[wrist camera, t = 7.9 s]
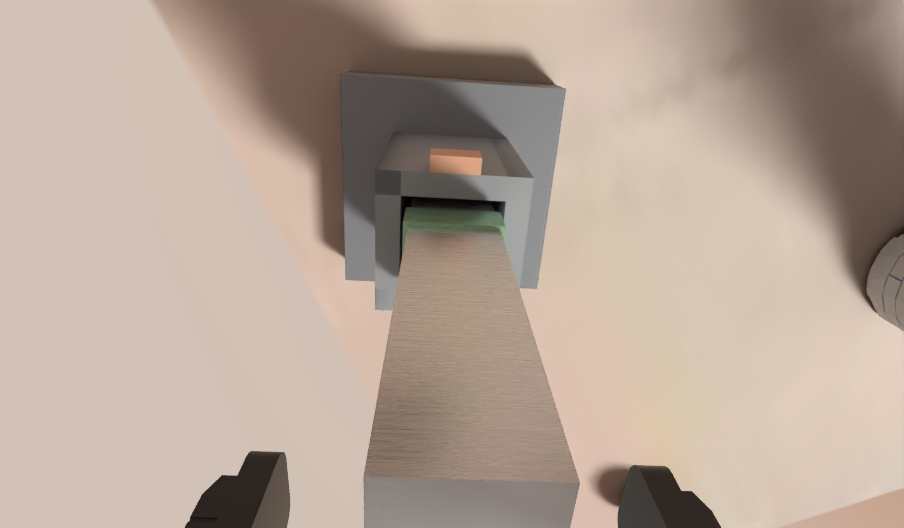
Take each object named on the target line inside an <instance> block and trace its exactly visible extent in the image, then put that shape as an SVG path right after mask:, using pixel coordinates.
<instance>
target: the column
mask: <svg viewBox="0 0 904 528" xmlns="http://www.w3.org/2000/svg"><path fill="white" fill-rule="evenodd" d="M505 229H506V226H505V223H504V220H503V217H502V214H501V212H495V211H494V208H493V205H492V202H491V201H488V200H469V199H451V198H432V197H414V196H413V198H412V204H411V207H406V209H405V214H404V219H403V241H402V261H401V266H400V272H399V278H398V283H397V289H396V295H395V301H394V306H393V312H392V318H391V323H390V329H389V335H388V341H387V346H386V352H385V358H384V363H383V369H382V375H381V380H380V386H379V392H378V398H377V403H376V409H375V415H374V421H373V426H372V432H371V438H370V443H369V449H368V455H367V460H366V466H365V472H364V528H570V525H571V520H572V516H573V512H574V507H575V503H576V498H577V494H578V489H579V485H580V481H579V478H578V475H577V472H576V469H575V466H574V462H573V459H572V456H571V453H570V450H569V446H568V443H567V440H566V437H565V434H564V431H563V427H562V424H561V421H560V418H559V415H558V412H557V408H556V405H555V402H554V399H553V396H552V392H551V389H550V386H549V383H548V380H547V377H546V373H545V370H544V367H543V364H542V361H541V357H540V354H539V351H538V348H537V345H536V342H535V338H534V335H533V332H532V329H531V326H530V322H529V319H528V316H527V313H526V310H525V307H524V303H523V300H522V297H521V294H520V291H519V287H518V284H517V281H516V278H515V275H514V272H513V268H512V265H511V262H510V259H509V256H508V252H507V249H506V246H505V243H504V238H505Z"/></svg>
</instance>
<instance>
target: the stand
mask: <svg viewBox="0 0 904 528" xmlns="http://www.w3.org/2000/svg"><path fill="white" fill-rule="evenodd" d="M340 80H341V119H342V158H343V197H344V235H345V274H346V280H359V281H375V310H393V306H394V301H395V295H396V289H397V283H398V278H399V272H400V266H401V261H402V241H403V219H404V214H405V209H406V207H411V204H412V198H413V196H414V197H432V198H451V199H469V200H488V201H491V202H492V205H493V208H494V211H495V212H501V214H502V217H503V220H504V223H505V226H506V229H505V238H504V243H505V246H506V249H507V252H508V256H509V259H510V262H511V265H512V268H513V272H514V275H515V278H516V281H517V284H518V287H519V290H520V288H530V289H537V284H538V277H539V270H540V263H541V257H542V250H543V243H544V236H545V229H546V222H547V215H548V209H549V202H550V195H551V188H552V181H553V174H554V168H555V161H556V154H557V147H558V140H559V133H560V127H561V120H562V113H563V106H564V99H565V92H566V89H565V88H562V87H560V86H557V85H548V84H532V83H517V82H501V81H486V80H470V79H455V78H440V77H424V76H409V75H393V74H378V73H362V72H346V73H343V74H340Z"/></svg>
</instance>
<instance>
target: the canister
mask: <svg viewBox="0 0 904 528" xmlns="http://www.w3.org/2000/svg"><path fill="white" fill-rule="evenodd" d="M866 290H867V295H868V296H869V297H870V299H871V301H872V304H873V306H874V308H875V309H876V311H877V312H878V313H879V316H881V317H882V318H883V319H885V320H886V321H888V322H890V323H891V324H893V325H895V326H896V327H898V328H899V329H901V330H902V331H904V234H902V235H901V236H899V237H897V238H896V237H893V238H892V239H891V240H890V241H889V242H888V243H887V244H886V245H885V246H884V247H883V248H882V250H881V251H880V253H879V254H878V256H877V258H876V259H875V261H874V263H873V265H872V267H871V269H870V272H869V275H868V279H867V287H866Z"/></svg>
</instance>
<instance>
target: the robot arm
mask: <svg viewBox="0 0 904 528" xmlns="http://www.w3.org/2000/svg"><path fill="white" fill-rule="evenodd" d="M289 512H290V493H289V482H288V472H287V462H286V455H285V453H284V452H259V451H251V452H249V453H248V455H247V456H246V458H245V461H244V463H243V465H242V467H241V469H240V471H239V474H238V476H225V475H222V476H221V477H220V478H219V479H218V480H217V481H216V482H215V483H214V484H212V486H210V487H209V488H208V489H207V490H206V491H205V492H204V493H203V494H202V496H201V498H200V500H199V501H198V503H197V505H196V507H195V509H194V511H193V513H192V515H191V517H190V521H189V522H188V523H187V524H186V526H185V528H287V524H288V518H289ZM618 528H721V526H720V525H719V523H718V521H717V519H716V518H715V516H714V514H713V512H712V511H711V510H710V509H709V508H708V507H707V506H706V505H705V504H704V503H703V502H702V501H701V500H700V499H699V498H698V497H697V496H696V495H695V494H694V493H693V492H692V491H681V490H680V488H679V486H678V484H677V482H676V480H675V478H674V476H673V474H672V473H671V471H670V470H669V469H668V468H667V467H665V466H643V465H633V466H632V467H631V468H630V470H629V474H628V477H627V481H626V485H625V488H624V492H623V495H622V499H621V503H620V506H619V510H618Z"/></svg>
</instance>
